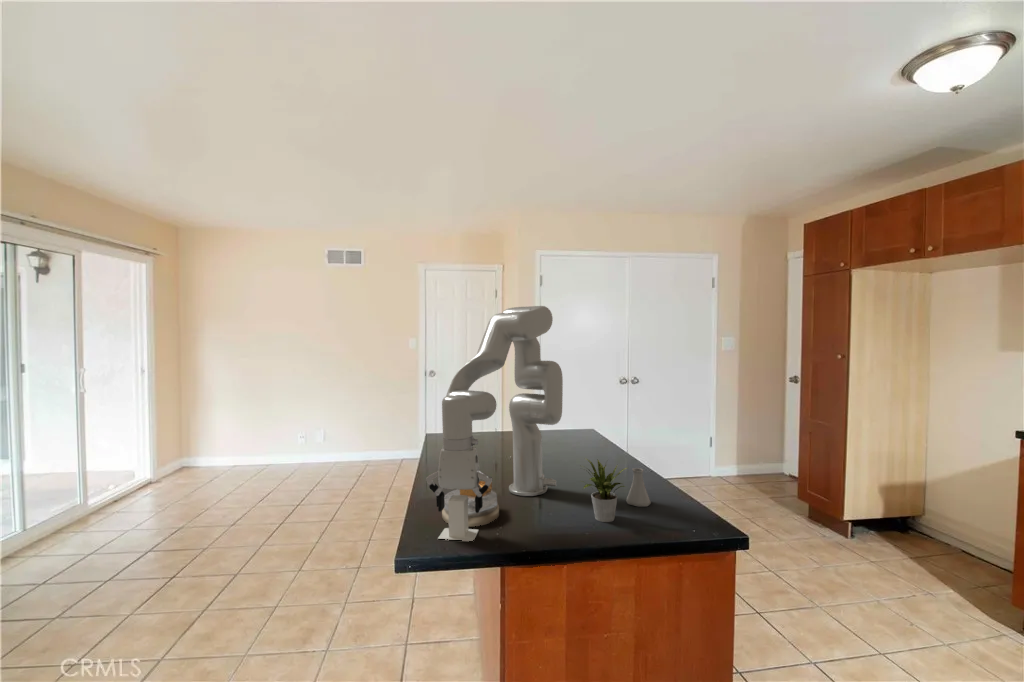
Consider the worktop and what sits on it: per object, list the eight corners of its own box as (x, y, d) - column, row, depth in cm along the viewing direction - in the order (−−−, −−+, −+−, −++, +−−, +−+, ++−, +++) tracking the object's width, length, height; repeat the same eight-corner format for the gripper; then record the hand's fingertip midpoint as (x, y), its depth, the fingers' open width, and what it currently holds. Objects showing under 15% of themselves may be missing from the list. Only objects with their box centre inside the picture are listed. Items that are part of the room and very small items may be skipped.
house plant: (563, 515, 122) (562, 457, 122) (597, 503, 130) (596, 449, 130) (602, 533, 110) (601, 468, 110) (637, 519, 119) (636, 459, 119)
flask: (652, 500, 132) (651, 467, 132) (649, 508, 126) (649, 474, 126) (627, 497, 135) (627, 465, 135) (624, 505, 129) (623, 471, 128)
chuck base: (503, 505, 130) (503, 498, 130) (493, 528, 114) (493, 520, 114) (451, 503, 132) (451, 496, 132) (434, 525, 117) (434, 518, 117)
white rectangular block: (453, 529, 113) (452, 495, 113) (468, 530, 112) (467, 495, 112) (448, 536, 109) (448, 500, 109) (464, 537, 108) (463, 501, 108)
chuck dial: (484, 520, 114) (484, 501, 114) (433, 513, 119) (433, 495, 119) (504, 500, 128) (504, 483, 128) (458, 495, 133) (458, 478, 133)
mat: (478, 531, 113) (478, 529, 113) (473, 541, 107) (473, 540, 107) (444, 529, 114) (444, 528, 114) (437, 539, 108) (437, 538, 108)
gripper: (493, 440, 114) (495, 505, 114) (430, 439, 116) (431, 503, 117) (488, 447, 107) (490, 517, 107) (420, 447, 109) (422, 515, 109)
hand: (459, 510), depth 112 cm, fingers open, 9 cm apart
